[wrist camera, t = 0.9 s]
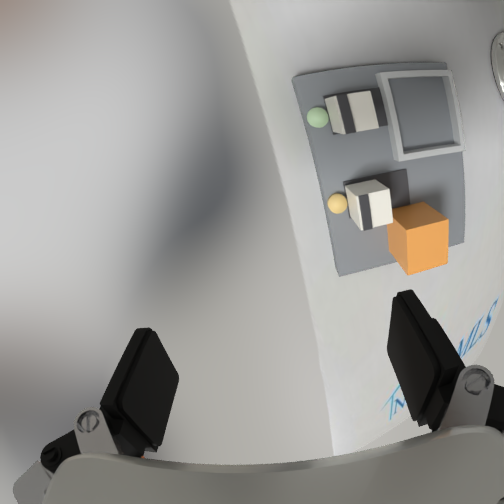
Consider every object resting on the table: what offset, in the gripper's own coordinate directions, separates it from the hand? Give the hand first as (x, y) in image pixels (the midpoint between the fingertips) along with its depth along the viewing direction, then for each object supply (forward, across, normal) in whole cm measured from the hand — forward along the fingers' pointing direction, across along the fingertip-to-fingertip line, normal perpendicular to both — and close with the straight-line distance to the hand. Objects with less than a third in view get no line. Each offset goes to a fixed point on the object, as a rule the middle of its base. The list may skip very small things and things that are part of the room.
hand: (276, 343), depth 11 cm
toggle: (+18, -8, -7) cm, 21 cm away
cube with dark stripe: (+18, -9, +1) cm, 20 cm away
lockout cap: (+17, -14, +4) cm, 22 cm away
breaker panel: (+19, -13, -2) cm, 23 cm away
